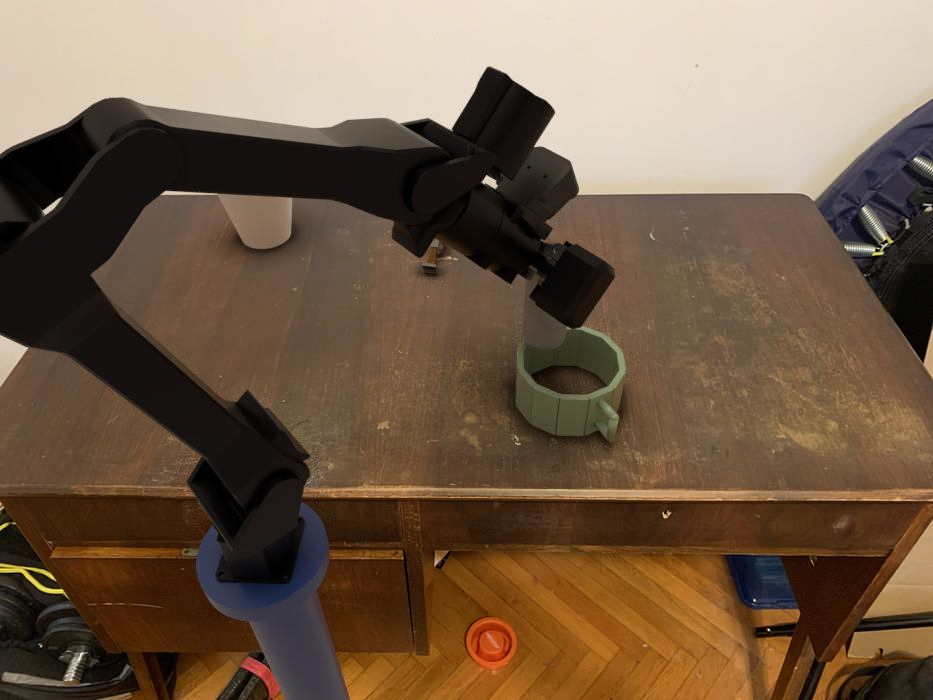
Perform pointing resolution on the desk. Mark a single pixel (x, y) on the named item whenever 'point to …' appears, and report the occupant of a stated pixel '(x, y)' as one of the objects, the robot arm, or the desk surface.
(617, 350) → the mug
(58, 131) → the robot arm
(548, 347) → the grey hollow cylinder
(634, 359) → the desk surface
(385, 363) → the desk surface
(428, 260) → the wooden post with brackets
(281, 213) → the cup
